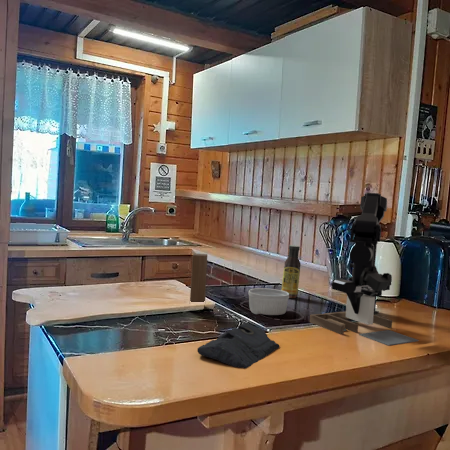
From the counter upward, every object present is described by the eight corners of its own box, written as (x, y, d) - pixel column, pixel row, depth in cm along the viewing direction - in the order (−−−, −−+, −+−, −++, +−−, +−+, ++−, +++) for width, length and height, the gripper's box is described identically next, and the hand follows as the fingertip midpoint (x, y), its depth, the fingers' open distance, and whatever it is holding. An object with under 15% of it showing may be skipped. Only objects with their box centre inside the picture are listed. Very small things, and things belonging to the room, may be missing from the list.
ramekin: (258, 306, 160) (259, 286, 159) (294, 313, 153) (295, 292, 153) (239, 313, 148) (241, 291, 148) (277, 320, 142) (279, 298, 141)
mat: (388, 333, 134) (389, 329, 134) (418, 343, 126) (418, 340, 126) (358, 337, 128) (359, 333, 128) (387, 348, 120) (388, 344, 120)
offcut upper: (330, 323, 137) (330, 318, 137) (344, 329, 132) (345, 324, 132) (322, 324, 136) (322, 319, 136) (337, 330, 131) (337, 325, 131)
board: (350, 316, 143) (352, 290, 143) (372, 324, 136) (374, 297, 135) (345, 317, 142) (347, 291, 142) (367, 324, 135) (370, 297, 134)
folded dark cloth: (185, 357, 105) (186, 337, 105) (230, 335, 125) (231, 318, 124) (245, 373, 98) (247, 351, 98) (283, 347, 117) (285, 328, 117)
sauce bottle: (280, 297, 175) (283, 245, 174) (281, 294, 181) (285, 244, 180) (297, 299, 174) (301, 247, 173) (298, 296, 180) (302, 245, 179)
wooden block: (191, 305, 155) (194, 251, 154) (204, 306, 155) (208, 252, 154) (189, 311, 146) (192, 254, 145) (203, 312, 146) (206, 255, 145)
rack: (358, 319, 149) (359, 310, 149) (391, 330, 138) (392, 320, 138) (309, 324, 139) (310, 314, 139) (340, 337, 128) (341, 326, 127)
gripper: (361, 266, 126) (356, 323, 127) (406, 265, 136) (402, 317, 137) (332, 260, 136) (328, 313, 137) (377, 259, 145) (373, 308, 146)
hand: (359, 313), depth 139 cm, fingers closed on board, 2 cm apart
